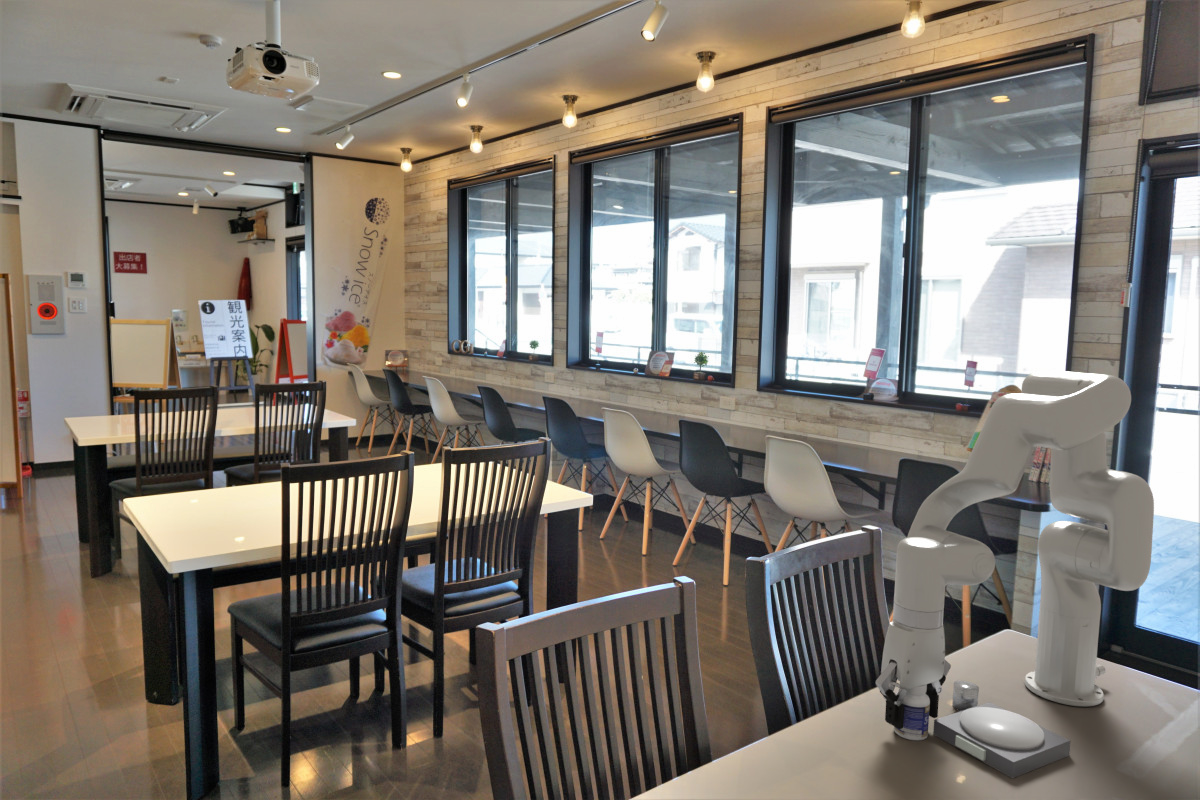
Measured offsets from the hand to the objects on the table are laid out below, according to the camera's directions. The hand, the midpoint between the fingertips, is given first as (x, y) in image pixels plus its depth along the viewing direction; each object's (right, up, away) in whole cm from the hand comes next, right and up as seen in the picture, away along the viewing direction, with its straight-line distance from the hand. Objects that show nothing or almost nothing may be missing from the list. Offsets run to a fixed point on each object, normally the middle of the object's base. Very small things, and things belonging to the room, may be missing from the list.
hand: (911, 719), depth 130 cm
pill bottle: (0, -3, 0) cm, 3 cm away
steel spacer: (+13, -2, +10) cm, 16 cm away
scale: (+13, -3, -3) cm, 14 cm away
